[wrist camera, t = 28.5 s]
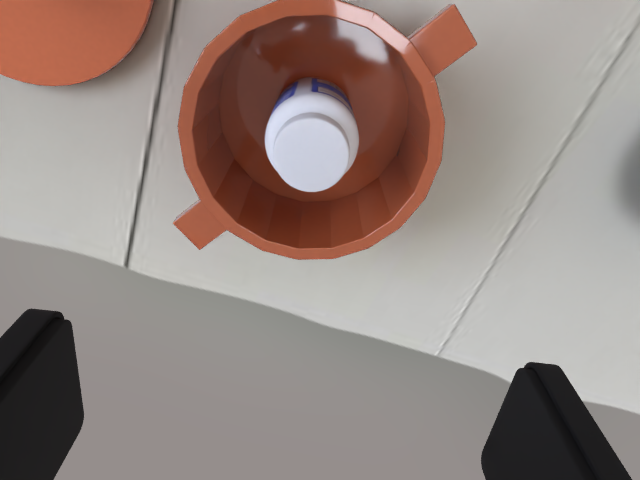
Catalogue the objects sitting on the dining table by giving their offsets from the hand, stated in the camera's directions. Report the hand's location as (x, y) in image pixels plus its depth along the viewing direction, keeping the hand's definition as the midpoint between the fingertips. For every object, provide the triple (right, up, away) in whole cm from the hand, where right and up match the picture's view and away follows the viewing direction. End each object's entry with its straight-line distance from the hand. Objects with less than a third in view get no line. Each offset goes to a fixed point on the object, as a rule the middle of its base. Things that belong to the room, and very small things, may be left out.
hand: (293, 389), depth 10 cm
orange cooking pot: (0, +12, +23) cm, 26 cm away
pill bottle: (0, +12, +23) cm, 26 cm away
